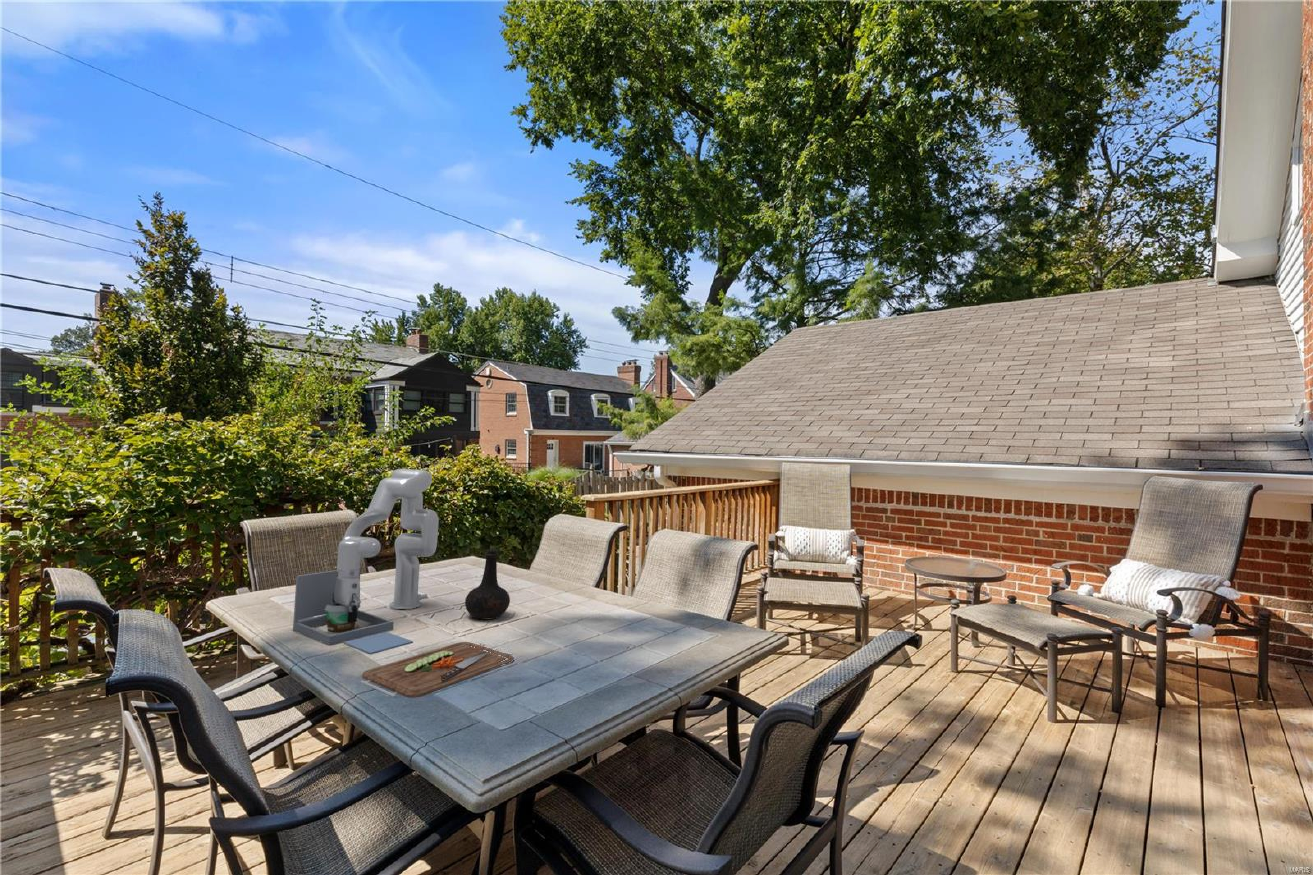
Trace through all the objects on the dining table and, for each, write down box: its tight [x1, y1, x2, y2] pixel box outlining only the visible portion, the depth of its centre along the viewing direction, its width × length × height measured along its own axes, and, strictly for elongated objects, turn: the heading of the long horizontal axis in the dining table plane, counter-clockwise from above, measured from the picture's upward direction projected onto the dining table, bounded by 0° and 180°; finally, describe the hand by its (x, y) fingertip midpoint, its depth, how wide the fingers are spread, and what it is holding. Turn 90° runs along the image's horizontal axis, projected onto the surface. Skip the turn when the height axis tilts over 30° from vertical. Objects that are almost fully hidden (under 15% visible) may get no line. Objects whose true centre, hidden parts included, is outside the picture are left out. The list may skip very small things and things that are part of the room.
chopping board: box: [360, 641, 515, 698], centre depth 187 cm, size 45×27×3 cm, turn 148°
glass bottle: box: [464, 548, 511, 619], centre depth 245 cm, size 18×18×28 cm
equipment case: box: [292, 566, 395, 646], centre depth 218 cm, size 24×25×20 cm
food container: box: [325, 604, 361, 634], centre depth 218 cm, size 12×6×10 cm, turn 143°
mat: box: [343, 631, 414, 655], centre depth 206 cm, size 16×16×1 cm
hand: (344, 619), depth 218 cm, fingers open, 9 cm apart
